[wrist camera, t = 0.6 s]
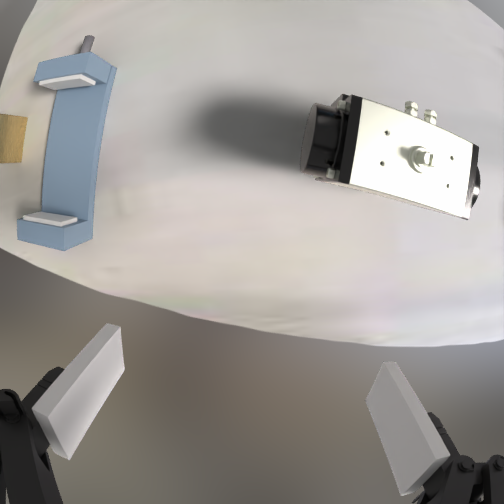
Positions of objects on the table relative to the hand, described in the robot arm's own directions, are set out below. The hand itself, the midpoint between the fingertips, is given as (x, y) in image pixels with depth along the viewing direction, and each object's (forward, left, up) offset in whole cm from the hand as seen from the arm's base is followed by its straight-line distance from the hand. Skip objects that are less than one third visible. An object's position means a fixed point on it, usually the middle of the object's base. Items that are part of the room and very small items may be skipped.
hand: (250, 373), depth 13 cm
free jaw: (-23, -30, -25) cm, 45 cm away
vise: (-10, -30, -27) cm, 41 cm away
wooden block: (-12, -45, -27) cm, 53 cm away
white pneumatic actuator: (-14, +11, -27) cm, 32 cm away
